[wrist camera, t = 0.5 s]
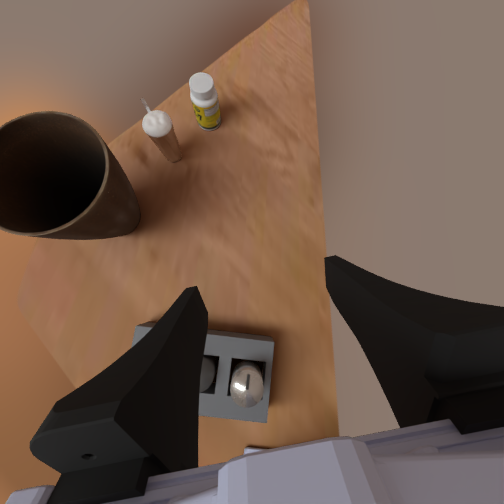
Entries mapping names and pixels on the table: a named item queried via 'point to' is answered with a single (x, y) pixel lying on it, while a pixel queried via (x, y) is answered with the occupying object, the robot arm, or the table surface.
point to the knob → (246, 384)
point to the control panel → (227, 347)
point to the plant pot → (62, 180)
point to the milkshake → (162, 133)
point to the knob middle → (207, 371)
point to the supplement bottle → (205, 101)
